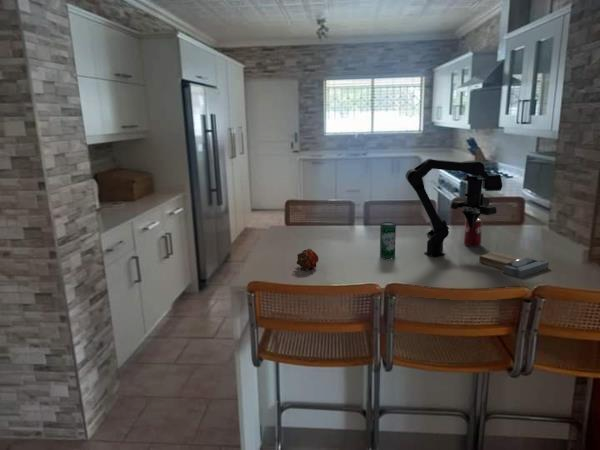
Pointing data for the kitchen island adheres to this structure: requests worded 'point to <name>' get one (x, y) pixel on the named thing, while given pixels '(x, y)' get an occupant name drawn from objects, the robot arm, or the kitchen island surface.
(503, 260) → the slab
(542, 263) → the stop cradle
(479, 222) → the soda can
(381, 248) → the can
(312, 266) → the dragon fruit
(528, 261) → the roller
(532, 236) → the kitchen island surface
